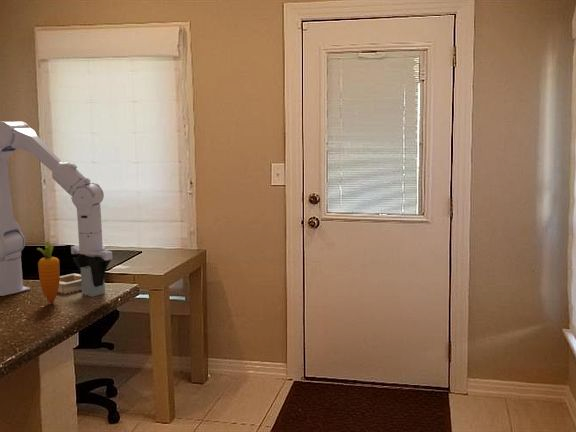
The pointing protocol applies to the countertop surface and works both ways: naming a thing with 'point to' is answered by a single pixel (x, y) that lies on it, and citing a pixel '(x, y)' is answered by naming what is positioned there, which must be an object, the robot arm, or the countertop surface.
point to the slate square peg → (90, 283)
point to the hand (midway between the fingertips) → (93, 284)
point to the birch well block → (70, 283)
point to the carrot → (49, 273)
